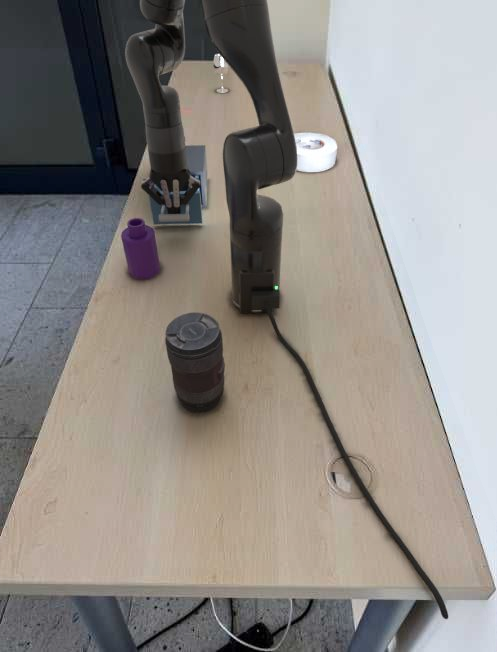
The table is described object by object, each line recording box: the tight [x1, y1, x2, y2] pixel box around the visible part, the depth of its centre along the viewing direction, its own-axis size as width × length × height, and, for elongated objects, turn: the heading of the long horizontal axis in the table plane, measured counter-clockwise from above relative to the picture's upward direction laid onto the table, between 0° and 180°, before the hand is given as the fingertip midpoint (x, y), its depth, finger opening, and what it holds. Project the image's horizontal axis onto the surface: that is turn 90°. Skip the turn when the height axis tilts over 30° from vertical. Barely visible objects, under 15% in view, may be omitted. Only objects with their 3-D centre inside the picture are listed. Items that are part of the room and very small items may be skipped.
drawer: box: [148, 175, 203, 225], centre depth 114 cm, size 20×11×8 cm, turn 2°
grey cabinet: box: [149, 144, 209, 209], centre depth 122 cm, size 15×13×10 cm
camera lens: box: [164, 312, 226, 414], centre depth 73 cm, size 8×8×15 cm
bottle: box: [120, 217, 161, 280], centre depth 98 cm, size 6×6×12 cm
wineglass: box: [212, 53, 230, 94], centre depth 177 cm, size 6×6×12 cm
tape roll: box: [294, 131, 338, 173], centre depth 138 cm, size 15×15×5 cm
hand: (175, 219), depth 109 cm, fingers closed
